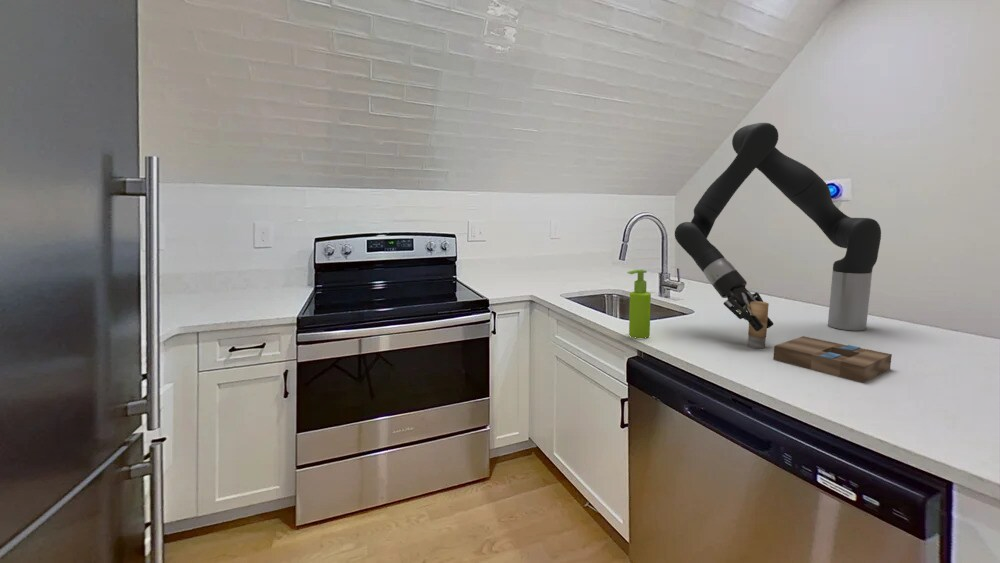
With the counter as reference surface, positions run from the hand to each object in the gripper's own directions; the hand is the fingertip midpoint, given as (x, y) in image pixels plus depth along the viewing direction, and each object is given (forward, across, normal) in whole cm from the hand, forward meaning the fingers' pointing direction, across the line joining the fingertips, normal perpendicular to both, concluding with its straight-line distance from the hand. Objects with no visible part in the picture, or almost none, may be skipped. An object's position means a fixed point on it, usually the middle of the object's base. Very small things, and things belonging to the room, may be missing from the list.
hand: (765, 327), depth 114 cm
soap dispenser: (-15, -18, +23) cm, 33 cm away
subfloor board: (+15, 0, -7) cm, 16 cm away
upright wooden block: (+3, 0, +5) cm, 6 cm away
